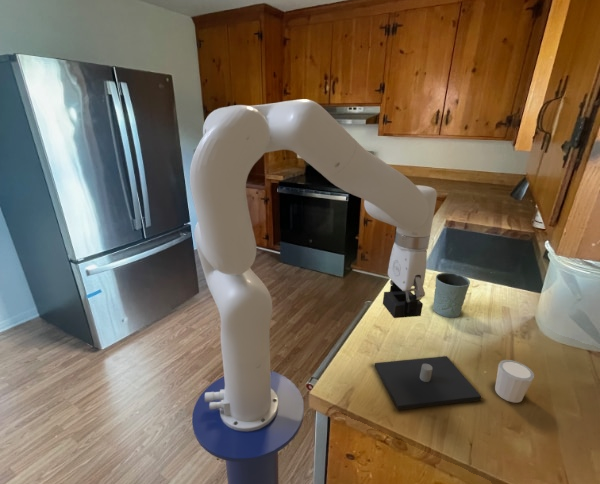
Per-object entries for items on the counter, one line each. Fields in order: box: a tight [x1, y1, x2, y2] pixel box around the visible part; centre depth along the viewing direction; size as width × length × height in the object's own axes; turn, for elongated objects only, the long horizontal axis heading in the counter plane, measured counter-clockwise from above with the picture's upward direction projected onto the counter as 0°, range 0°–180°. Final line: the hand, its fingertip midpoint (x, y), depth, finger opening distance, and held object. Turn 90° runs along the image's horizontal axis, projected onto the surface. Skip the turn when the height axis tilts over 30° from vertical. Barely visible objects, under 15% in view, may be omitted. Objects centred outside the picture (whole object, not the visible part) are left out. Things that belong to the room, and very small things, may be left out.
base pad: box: [374, 355, 482, 411], centre depth 79 cm, size 20×14×5 cm
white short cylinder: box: [494, 359, 535, 404], centre depth 76 cm, size 7×7×7 cm
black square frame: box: [382, 290, 424, 319], centre depth 83 cm, size 7×7×4 cm
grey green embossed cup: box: [432, 272, 471, 318], centre depth 108 cm, size 10×10×12 cm
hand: (401, 306), depth 83 cm, fingers closed on black square frame, 7 cm apart
